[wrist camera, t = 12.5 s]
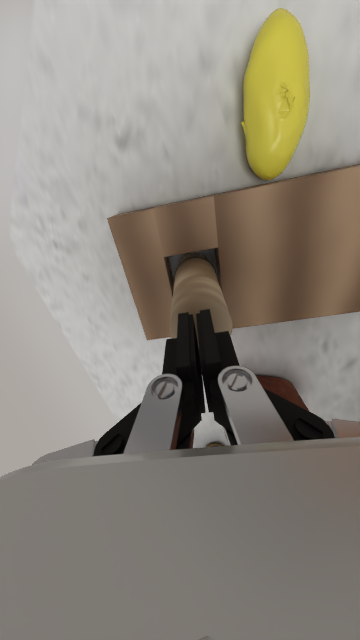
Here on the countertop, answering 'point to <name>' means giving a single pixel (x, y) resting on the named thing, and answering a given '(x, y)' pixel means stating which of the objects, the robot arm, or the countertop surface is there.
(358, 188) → the board
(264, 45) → the lemon
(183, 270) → the dowel
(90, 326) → the countertop surface
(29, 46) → the countertop surface
